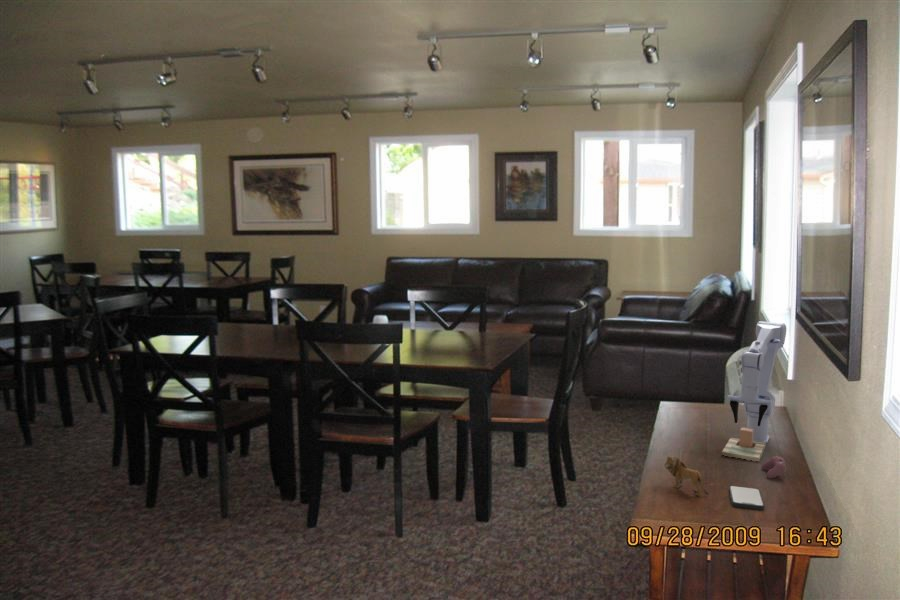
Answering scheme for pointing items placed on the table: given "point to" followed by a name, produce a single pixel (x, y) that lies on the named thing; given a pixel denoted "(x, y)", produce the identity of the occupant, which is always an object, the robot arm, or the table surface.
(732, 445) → the board
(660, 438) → the table surface
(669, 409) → the table surface
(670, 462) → the lion figurine
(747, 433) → the terracotta block
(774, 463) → the video game controller
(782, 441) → the table surface
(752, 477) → the table surface
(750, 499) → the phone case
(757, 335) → the robot arm
